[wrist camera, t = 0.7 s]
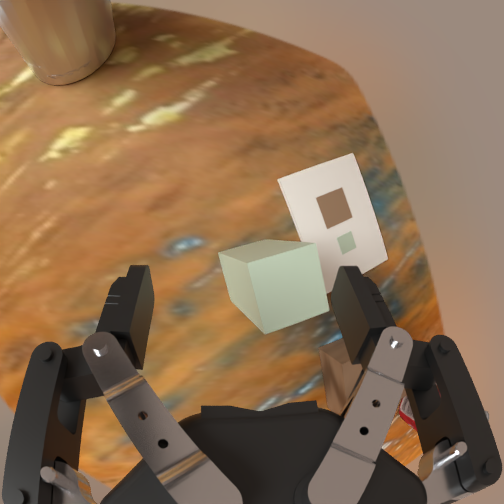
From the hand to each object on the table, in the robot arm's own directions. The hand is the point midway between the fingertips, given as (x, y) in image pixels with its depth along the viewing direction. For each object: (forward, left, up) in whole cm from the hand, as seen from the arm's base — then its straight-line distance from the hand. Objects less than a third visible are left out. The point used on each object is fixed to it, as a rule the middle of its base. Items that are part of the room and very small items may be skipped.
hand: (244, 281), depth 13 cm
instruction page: (0, +14, -15) cm, 20 cm away
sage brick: (+2, +4, -15) cm, 15 cm away
